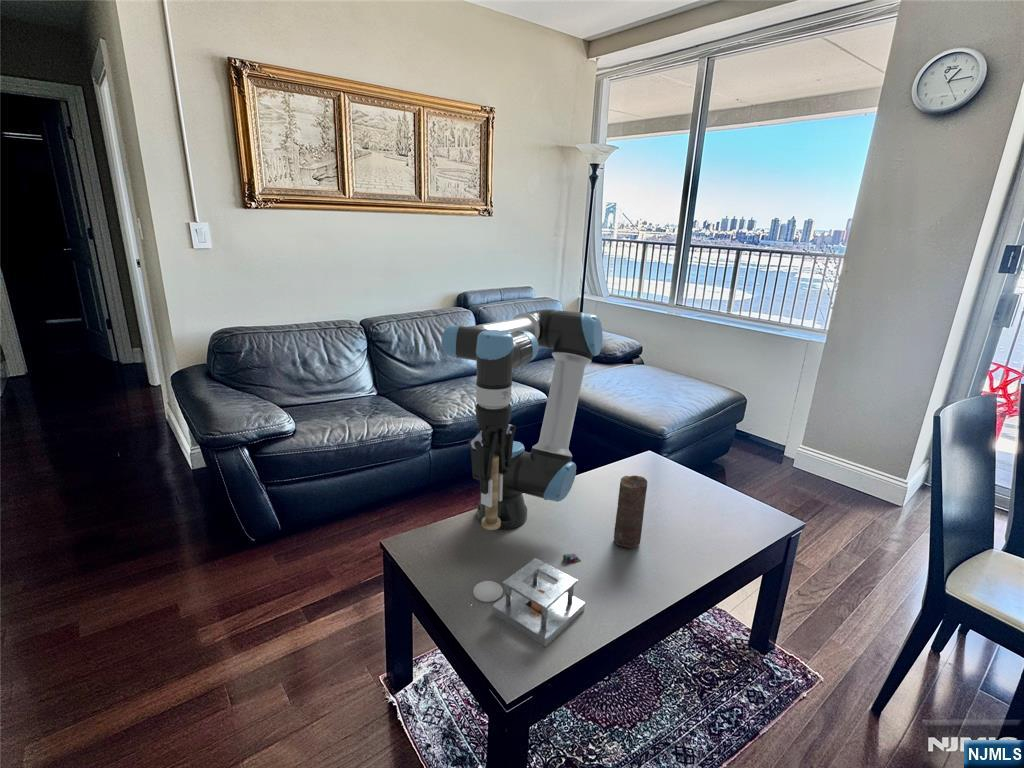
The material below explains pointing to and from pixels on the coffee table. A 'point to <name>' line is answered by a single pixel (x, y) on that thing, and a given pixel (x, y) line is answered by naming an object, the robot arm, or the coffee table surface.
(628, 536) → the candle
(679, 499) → the coffee table surface
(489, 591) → the coaster
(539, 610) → the breaker button
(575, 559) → the multicolour small angular block
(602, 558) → the coffee table surface
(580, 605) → the grey square frame
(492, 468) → the turned wooden spindle
